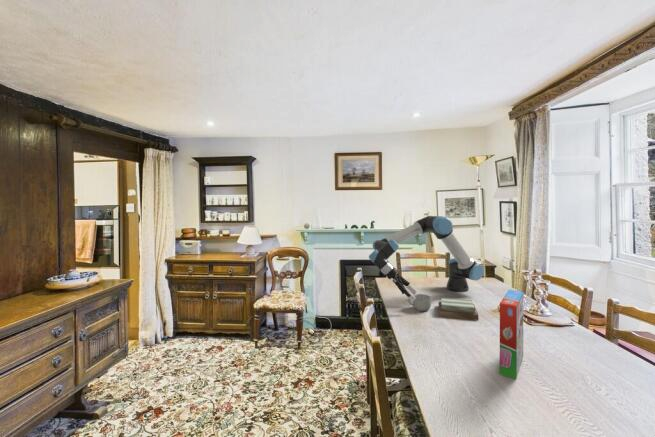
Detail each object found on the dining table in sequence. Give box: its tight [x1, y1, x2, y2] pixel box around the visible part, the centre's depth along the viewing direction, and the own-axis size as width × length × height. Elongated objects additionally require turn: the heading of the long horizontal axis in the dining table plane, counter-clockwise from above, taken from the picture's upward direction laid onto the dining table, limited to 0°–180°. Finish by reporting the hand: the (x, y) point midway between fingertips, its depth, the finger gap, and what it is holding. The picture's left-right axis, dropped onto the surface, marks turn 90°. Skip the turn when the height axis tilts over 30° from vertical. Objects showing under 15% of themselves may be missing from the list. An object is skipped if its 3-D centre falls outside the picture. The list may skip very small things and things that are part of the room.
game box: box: [499, 289, 524, 380], centre depth 115 cm, size 21×6×27 cm, turn 141°
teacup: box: [407, 293, 432, 312], centre depth 179 cm, size 14×11×8 cm
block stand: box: [438, 297, 479, 321], centre depth 172 cm, size 18×20×6 cm
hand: (414, 296), depth 179 cm, fingers open, 13 cm apart
